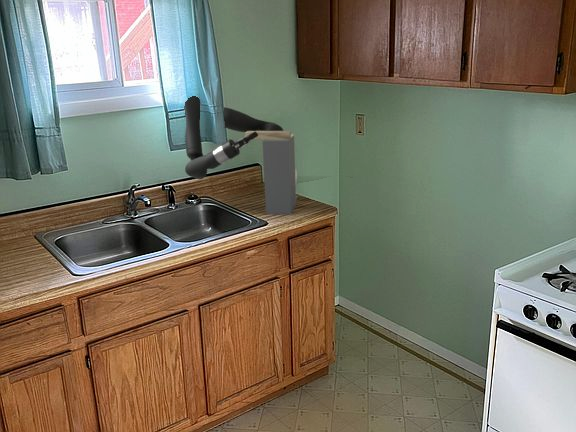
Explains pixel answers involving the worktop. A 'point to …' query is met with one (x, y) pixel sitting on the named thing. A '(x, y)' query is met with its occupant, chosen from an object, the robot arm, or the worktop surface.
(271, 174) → the tall grey upright prism
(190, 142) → the robot arm
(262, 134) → the birch slat
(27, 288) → the worktop surface
